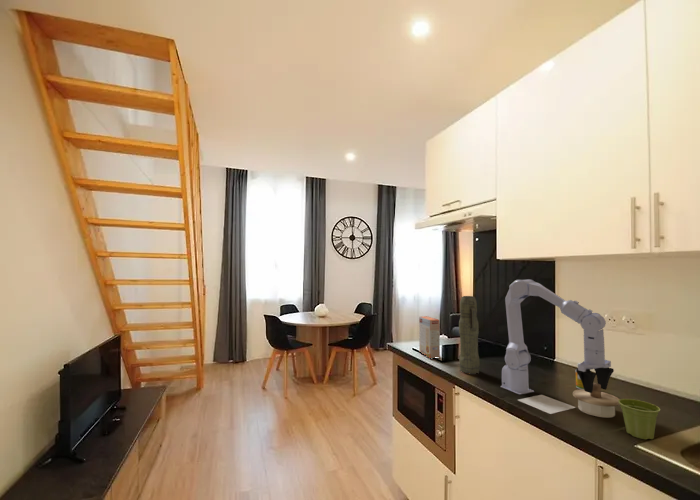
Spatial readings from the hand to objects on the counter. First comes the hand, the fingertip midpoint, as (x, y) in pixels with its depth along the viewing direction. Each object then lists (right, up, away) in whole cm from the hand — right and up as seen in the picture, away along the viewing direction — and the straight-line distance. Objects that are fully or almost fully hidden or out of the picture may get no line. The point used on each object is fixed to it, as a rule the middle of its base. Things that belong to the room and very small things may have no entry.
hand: (595, 390), depth 116 cm
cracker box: (-40, -11, +72) cm, 83 cm away
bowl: (0, -7, 0) cm, 7 cm away
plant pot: (+1, -7, -16) cm, 17 cm away
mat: (-14, -8, +6) cm, 17 cm away
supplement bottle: (+11, -9, +22) cm, 26 cm away
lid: (0, -3, 0) cm, 3 cm away
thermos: (-27, -10, +44) cm, 53 cm away
